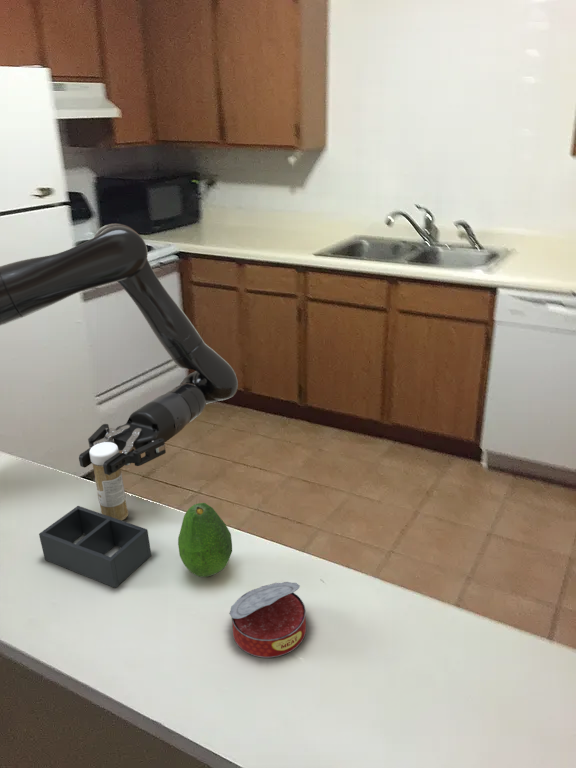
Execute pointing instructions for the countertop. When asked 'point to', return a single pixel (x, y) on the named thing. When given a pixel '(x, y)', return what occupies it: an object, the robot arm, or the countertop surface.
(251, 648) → the canned food
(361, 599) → the countertop surface
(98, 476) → the sprinkles bottle
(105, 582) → the divided storage box
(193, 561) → the avocado
